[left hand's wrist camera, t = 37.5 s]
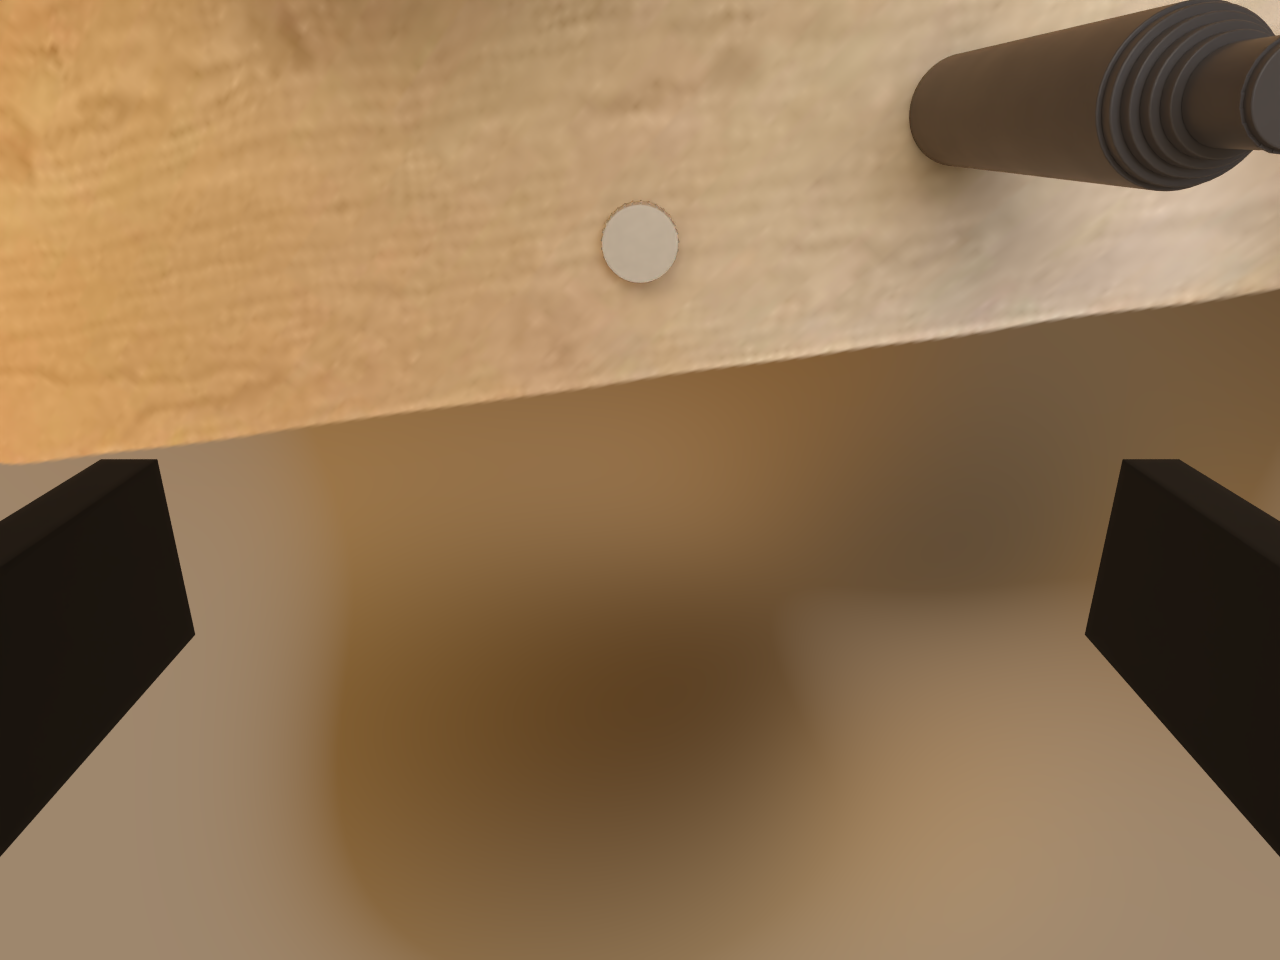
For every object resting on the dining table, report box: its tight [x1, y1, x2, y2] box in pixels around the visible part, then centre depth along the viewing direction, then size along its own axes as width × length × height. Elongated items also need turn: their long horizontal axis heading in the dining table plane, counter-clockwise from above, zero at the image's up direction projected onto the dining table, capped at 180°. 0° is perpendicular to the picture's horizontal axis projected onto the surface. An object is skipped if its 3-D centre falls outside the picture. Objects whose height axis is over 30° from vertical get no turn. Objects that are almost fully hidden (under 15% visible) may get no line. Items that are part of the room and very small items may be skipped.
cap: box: [601, 200, 679, 283], centre depth 46 cm, size 4×4×2 cm
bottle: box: [909, 0, 1280, 191], centre depth 33 cm, size 5×5×25 cm
